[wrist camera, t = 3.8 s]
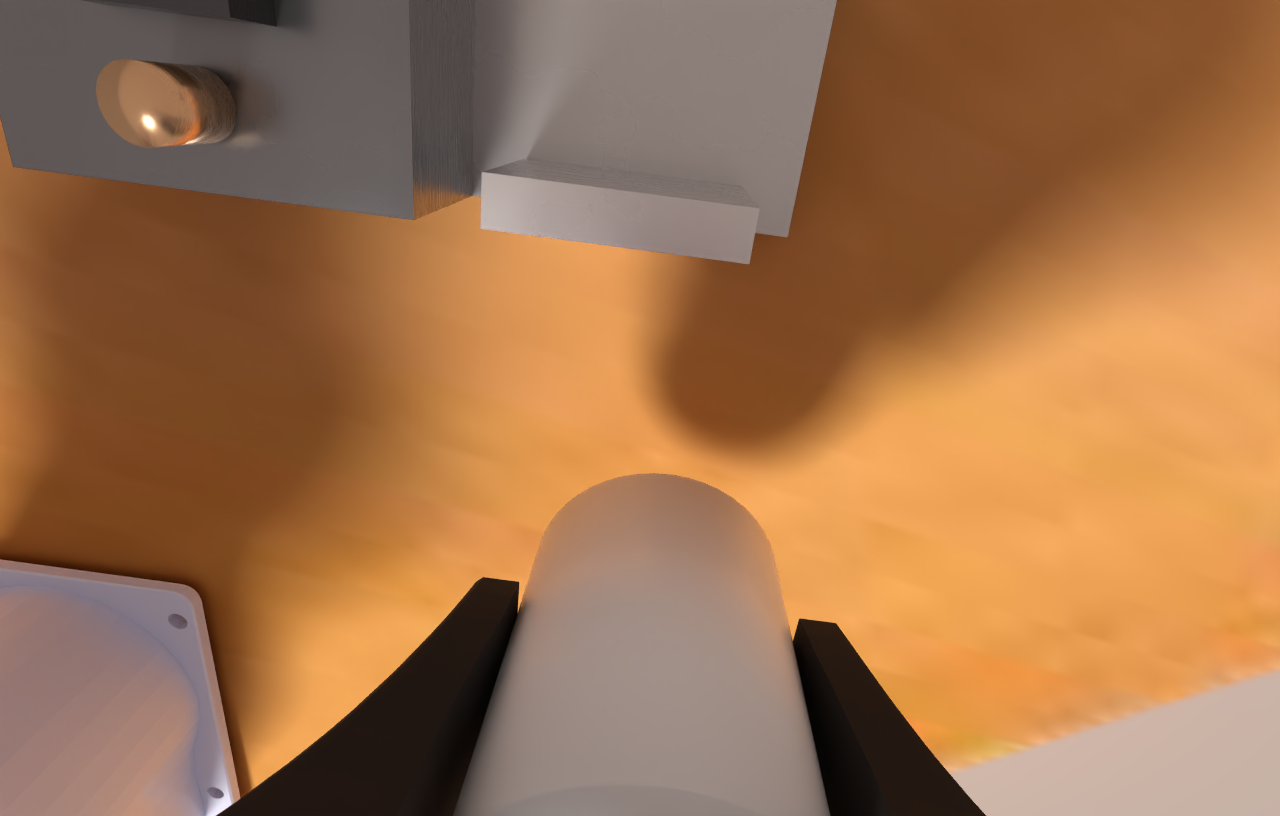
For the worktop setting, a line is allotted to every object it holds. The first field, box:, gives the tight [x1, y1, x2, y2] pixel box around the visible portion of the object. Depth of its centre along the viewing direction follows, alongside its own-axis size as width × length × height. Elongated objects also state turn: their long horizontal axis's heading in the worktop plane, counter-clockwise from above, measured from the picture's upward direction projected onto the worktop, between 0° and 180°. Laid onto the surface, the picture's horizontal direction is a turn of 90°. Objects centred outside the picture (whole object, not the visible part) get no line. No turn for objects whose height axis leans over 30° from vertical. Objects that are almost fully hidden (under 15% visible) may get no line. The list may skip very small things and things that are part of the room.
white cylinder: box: [453, 474, 830, 816], centre depth 10 cm, size 5×5×7 cm
